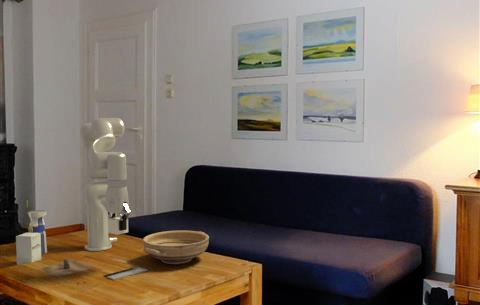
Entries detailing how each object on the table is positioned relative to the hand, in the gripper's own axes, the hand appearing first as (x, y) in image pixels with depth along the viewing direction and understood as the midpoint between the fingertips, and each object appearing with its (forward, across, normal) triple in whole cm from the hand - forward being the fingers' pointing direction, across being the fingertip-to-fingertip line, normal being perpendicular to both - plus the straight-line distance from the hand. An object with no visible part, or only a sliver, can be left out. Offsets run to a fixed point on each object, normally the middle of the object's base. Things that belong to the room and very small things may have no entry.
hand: (118, 228), depth 204 cm
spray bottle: (+17, -54, -7) cm, 57 cm away
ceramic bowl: (+18, +5, +26) cm, 32 cm away
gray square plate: (+17, 0, 0) cm, 18 cm away
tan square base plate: (+17, -16, -14) cm, 28 cm away
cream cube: (+1, 0, 0) cm, 2 cm away
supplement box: (+17, -40, -18) cm, 47 cm away
